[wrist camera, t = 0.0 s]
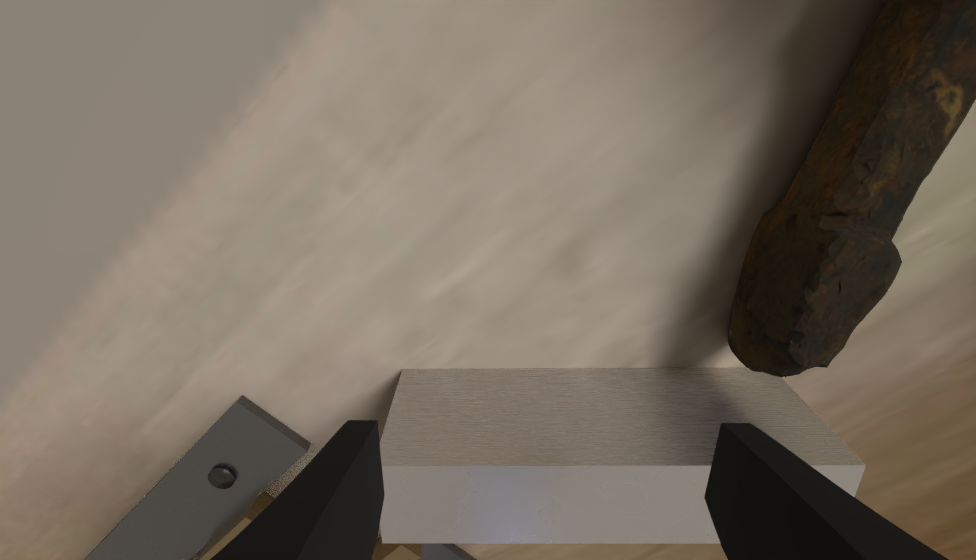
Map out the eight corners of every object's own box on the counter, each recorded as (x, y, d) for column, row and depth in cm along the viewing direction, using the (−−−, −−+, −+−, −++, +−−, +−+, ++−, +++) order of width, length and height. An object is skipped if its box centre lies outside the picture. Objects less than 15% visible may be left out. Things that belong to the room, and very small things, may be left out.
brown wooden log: (965, -246, 14) (1175, -390, 10) (1081, -190, 14) (1331, -303, 10) (665, 320, 21) (709, 383, 17) (750, 347, 21) (814, 415, 17)
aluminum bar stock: (753, 430, 23) (837, 543, 17) (408, 430, 23) (382, 543, 17) (769, 365, 22) (866, 465, 16) (403, 366, 22) (372, 466, 16)
